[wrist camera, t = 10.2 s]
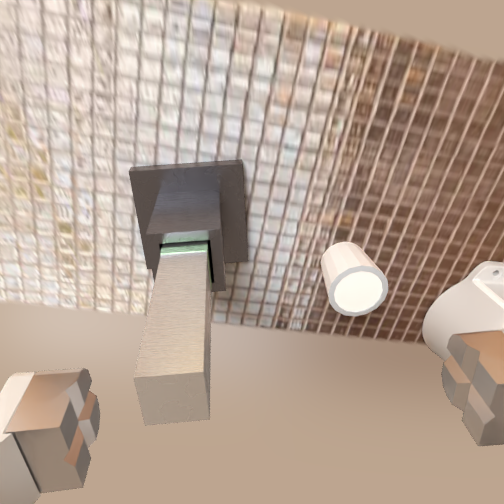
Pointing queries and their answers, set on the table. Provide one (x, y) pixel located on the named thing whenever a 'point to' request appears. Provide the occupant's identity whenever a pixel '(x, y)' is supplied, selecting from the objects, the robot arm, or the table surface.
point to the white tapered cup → (352, 280)
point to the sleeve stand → (192, 211)
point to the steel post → (177, 338)
